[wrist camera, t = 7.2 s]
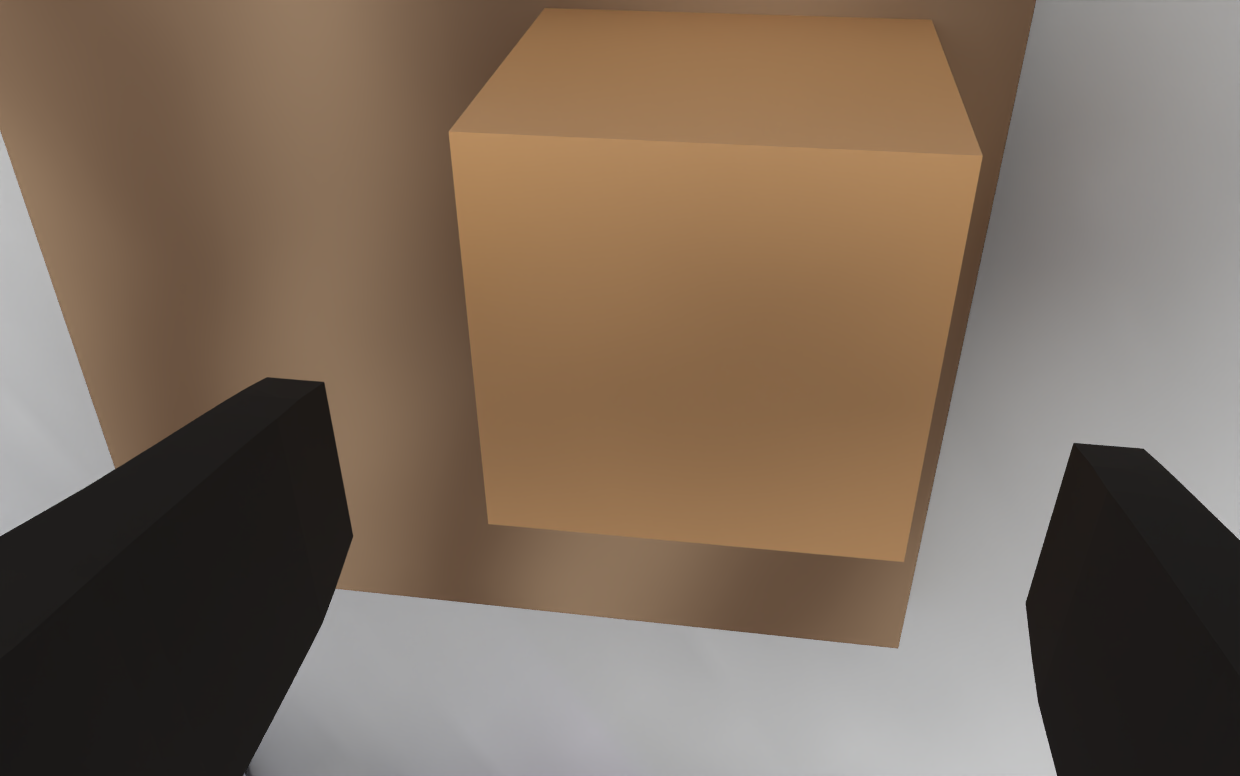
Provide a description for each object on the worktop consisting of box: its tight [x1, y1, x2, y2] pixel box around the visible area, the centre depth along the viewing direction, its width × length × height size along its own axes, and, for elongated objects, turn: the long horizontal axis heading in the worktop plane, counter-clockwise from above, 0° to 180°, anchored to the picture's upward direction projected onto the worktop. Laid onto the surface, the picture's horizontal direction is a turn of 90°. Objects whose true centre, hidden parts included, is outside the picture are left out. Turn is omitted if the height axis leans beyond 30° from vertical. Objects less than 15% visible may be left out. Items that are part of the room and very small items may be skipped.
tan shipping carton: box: [449, 8, 983, 562], centre depth 14 cm, size 5×5×5 cm
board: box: [0, 0, 1036, 648], centre depth 19 cm, size 16×14×1 cm
